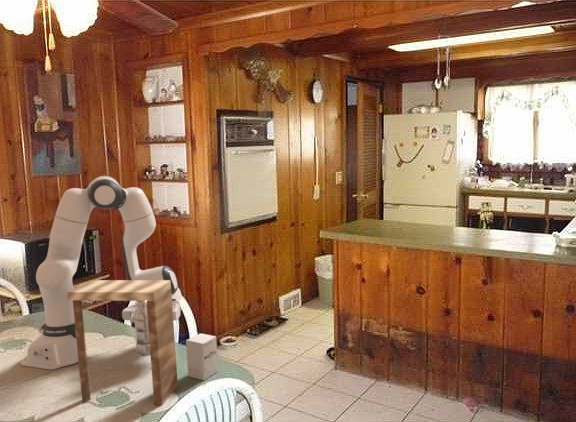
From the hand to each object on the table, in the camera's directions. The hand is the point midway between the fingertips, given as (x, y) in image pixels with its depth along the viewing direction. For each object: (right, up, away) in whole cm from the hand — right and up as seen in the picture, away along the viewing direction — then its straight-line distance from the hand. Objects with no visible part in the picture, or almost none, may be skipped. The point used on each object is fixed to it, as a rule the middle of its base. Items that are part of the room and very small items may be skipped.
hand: (142, 320), depth 176 cm
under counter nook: (+1, -19, -16) cm, 25 cm away
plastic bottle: (0, -13, +3) cm, 13 cm away
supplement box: (+22, -17, -5) cm, 28 cm away
